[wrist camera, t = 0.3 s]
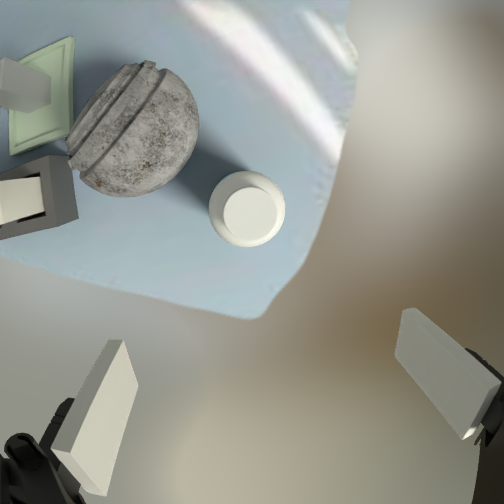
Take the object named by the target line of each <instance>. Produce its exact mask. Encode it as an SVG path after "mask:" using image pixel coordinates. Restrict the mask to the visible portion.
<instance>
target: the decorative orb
mask: <svg viewBox="0 0 504 504" xmlns="http://www.w3.org/2000/svg"><path fill="white" fill-rule="evenodd" d="M155 65H156V63H155V62H151V61H147V60H145V61H143V62H142V63H141V64H139V65H138V64H137V63H135V64H132V65H128V64H125V65H124V66H122V67H121V68H120V69H119V70H118V71H117V72H116V73H115V74H113V75H112V76H111V77H110V78H109V79H108V80H107V81H105V82H104V83H103V85H102V86H101V87H100V88H99V89H98V90H97V91H96V92H95V93H94V94H93V96H92V97H91V98H90V99H89V101H88V102H87V103H86V105H85V106H84V108H83V109H82V111H81V112H80V114H79V115H78V117H77V119H76V121H75V123H74V125H73V127H72V129H71V131H70V133H69V135H68V137H67V139H66V141H65V143H66V144H67V153H69V156H68V159H67V163H68V165H69V167H70V168H71V170H74V169H78V170H79V171H80V179H81V180H82V181H83V182H84V183H85V184H87V185H88V186H89V187H91V188H93V189H94V190H96V191H98V192H101V193H103V194H106V195H110V196H116V197H135V196H140V195H144V194H147V193H150V192H153V191H155V190H157V189H159V188H161V187H162V186H164V185H165V184H167V183H168V182H170V181H171V180H172V179H173V178H174V177H175V176H176V175H177V174H178V173H179V172H180V171H181V170H182V169H183V167H184V166H185V165H186V163H187V162H188V160H189V158H190V157H191V155H192V153H193V150H194V148H195V145H196V141H197V138H198V132H199V116H198V109H197V105H196V102H195V100H194V97H193V95H192V93H191V91H190V90H189V88H188V87H187V85H186V84H185V83H184V82H183V81H182V80H181V79H180V78H179V77H178V76H177V75H176V74H174V73H173V72H172V71H170V70H168V69H166V68H164V69H161V70H158V69H156V68H155Z"/></svg>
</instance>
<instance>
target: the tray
mask: <svg viewBox="0 0 504 504" xmlns="http://www.w3.org/2000/svg"><path fill="white" fill-rule="evenodd" d="M74 51H75V39H74V38H73V37H72V36H70V37H67V38H65V39H63V40H60V41H58V42H56V43H54V44H51V45H49V46H47V47H45V48H43V49H41V50H39V51H37V52H35V53H33V54H31V55H29V56H27V57H25V58H23V59H21V60H20V61H18V62H19V63H21V64H23V65H25V66H28V67H30V68H32V69H34V70H36V71H39V72H41V73H43V74H45V75H47V76H49V77H51V104H50V105H47V106H45V107H42V108H40V109H38V110H35V111H33V112H31V113H29V114H28V113H24V112H19V111H14V110H10V109H9V150H10V156H16V155H19V154H21V153H23V152H26V151H28V150H31V149H34V148H36V147H39V146H41V145H44V144H47V143H50V142H52V141H55V140H58V139H61V138H64V137H67V136H68V135H69V133H70V131H71V129H72V127H73V125H74V113H73V71H74Z"/></svg>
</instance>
